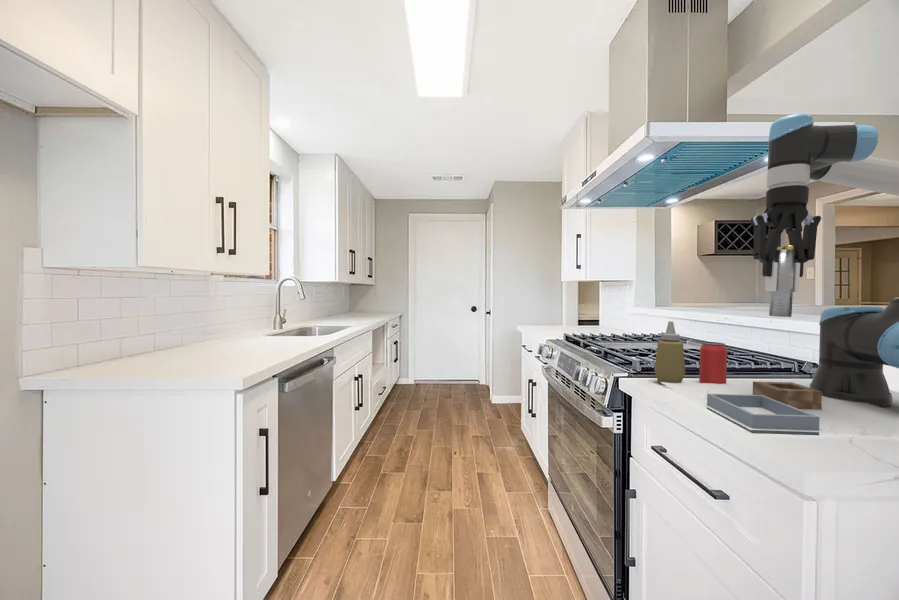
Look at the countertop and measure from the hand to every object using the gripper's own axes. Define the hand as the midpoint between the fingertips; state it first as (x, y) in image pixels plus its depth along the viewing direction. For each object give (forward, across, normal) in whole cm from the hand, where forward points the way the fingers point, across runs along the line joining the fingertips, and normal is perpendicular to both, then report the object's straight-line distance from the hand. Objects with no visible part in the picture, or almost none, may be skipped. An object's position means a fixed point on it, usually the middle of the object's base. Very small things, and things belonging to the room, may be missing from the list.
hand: (781, 291), depth 95 cm
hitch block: (+27, -3, -2) cm, 27 cm away
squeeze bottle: (+28, +13, -24) cm, 39 cm away
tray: (+27, +9, +10) cm, 30 cm away
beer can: (+27, +1, -25) cm, 37 cm away
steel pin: (+6, 0, 0) cm, 6 cm away
